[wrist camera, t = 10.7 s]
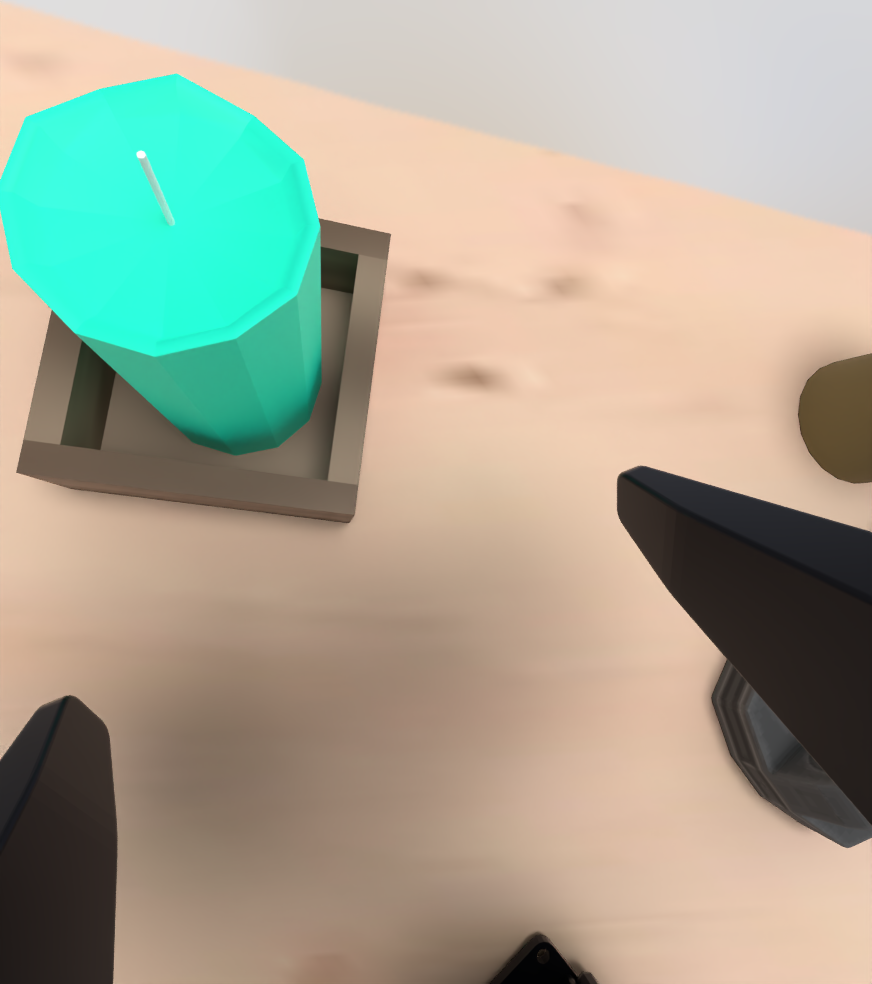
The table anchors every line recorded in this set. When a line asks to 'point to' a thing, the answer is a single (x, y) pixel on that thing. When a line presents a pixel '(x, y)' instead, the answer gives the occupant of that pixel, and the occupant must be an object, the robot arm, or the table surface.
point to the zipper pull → (783, 764)
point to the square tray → (205, 471)
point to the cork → (840, 418)
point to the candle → (176, 253)
